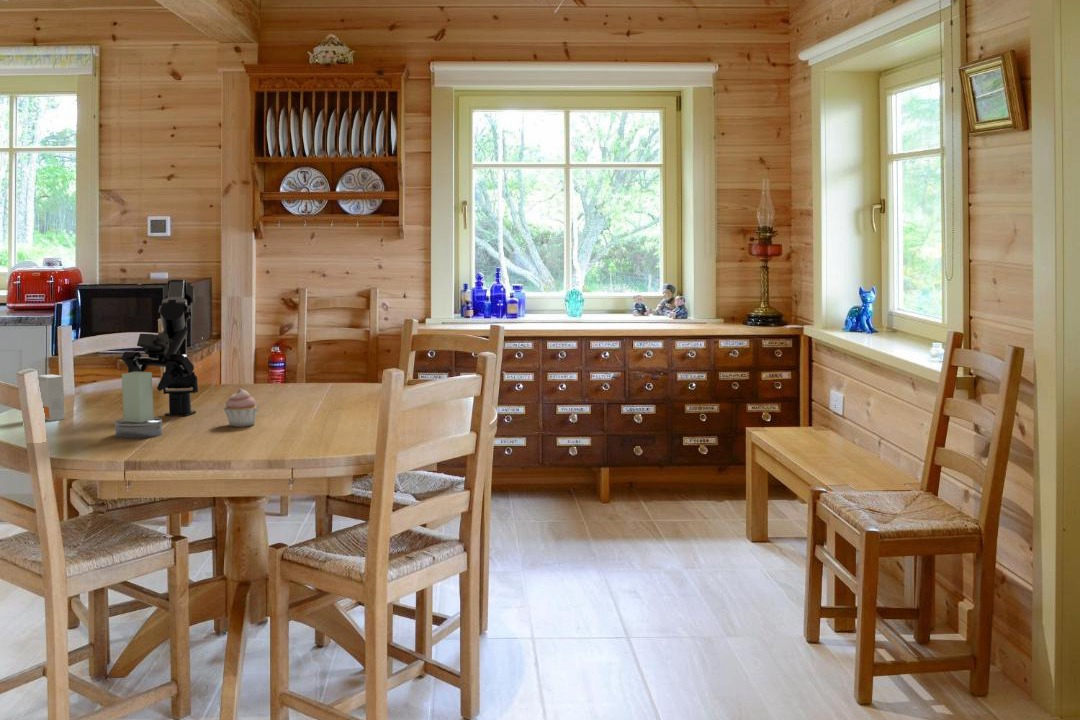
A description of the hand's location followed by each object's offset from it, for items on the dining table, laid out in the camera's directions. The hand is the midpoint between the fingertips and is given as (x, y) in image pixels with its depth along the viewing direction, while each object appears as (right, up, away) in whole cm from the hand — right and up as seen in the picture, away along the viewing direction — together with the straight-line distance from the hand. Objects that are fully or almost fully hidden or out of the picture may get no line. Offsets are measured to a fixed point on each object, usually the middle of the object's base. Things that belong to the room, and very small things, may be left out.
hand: (143, 388), depth 256 cm
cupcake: (+21, -10, +14) cm, 27 cm away
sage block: (-1, -8, -1) cm, 8 cm away
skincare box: (-33, -9, +20) cm, 39 cm away
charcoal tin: (-1, -12, -1) cm, 12 cm away
